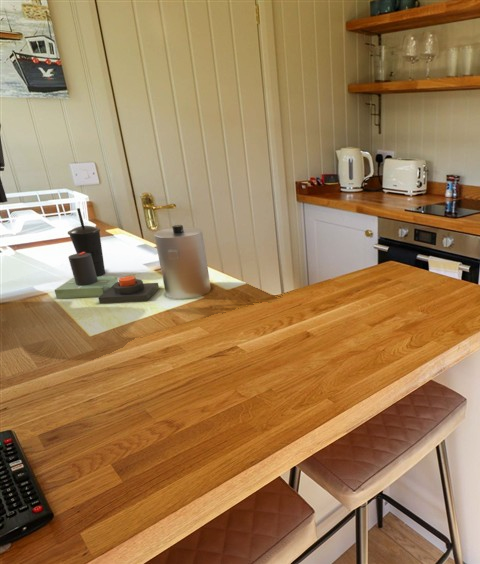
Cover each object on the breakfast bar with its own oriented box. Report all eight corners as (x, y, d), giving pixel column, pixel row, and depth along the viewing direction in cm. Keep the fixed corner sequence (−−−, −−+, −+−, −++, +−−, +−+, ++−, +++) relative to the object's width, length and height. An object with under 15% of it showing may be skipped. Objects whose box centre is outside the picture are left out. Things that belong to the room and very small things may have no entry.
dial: (92, 285, 111) (85, 256, 108) (72, 286, 110) (64, 257, 107) (101, 278, 115) (94, 251, 112) (81, 279, 114) (73, 252, 112)
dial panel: (57, 300, 109) (53, 289, 107) (75, 287, 117) (72, 277, 116) (104, 298, 111) (101, 287, 109) (119, 285, 119) (116, 275, 118)
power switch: (117, 287, 108) (116, 281, 107) (123, 282, 111) (122, 276, 111) (133, 286, 109) (131, 280, 108) (138, 281, 112) (137, 275, 111)
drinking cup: (73, 278, 124) (54, 210, 117) (96, 269, 131) (79, 205, 124) (94, 280, 122) (76, 211, 115) (116, 272, 129) (101, 206, 122)
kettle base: (100, 305, 106) (96, 290, 105) (115, 292, 114) (112, 278, 113) (147, 303, 108) (144, 288, 107) (159, 290, 116) (156, 276, 115)
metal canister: (204, 302, 109) (192, 232, 102) (158, 305, 107) (143, 233, 100) (216, 283, 122) (206, 219, 115) (175, 285, 120) (162, 220, 113)
